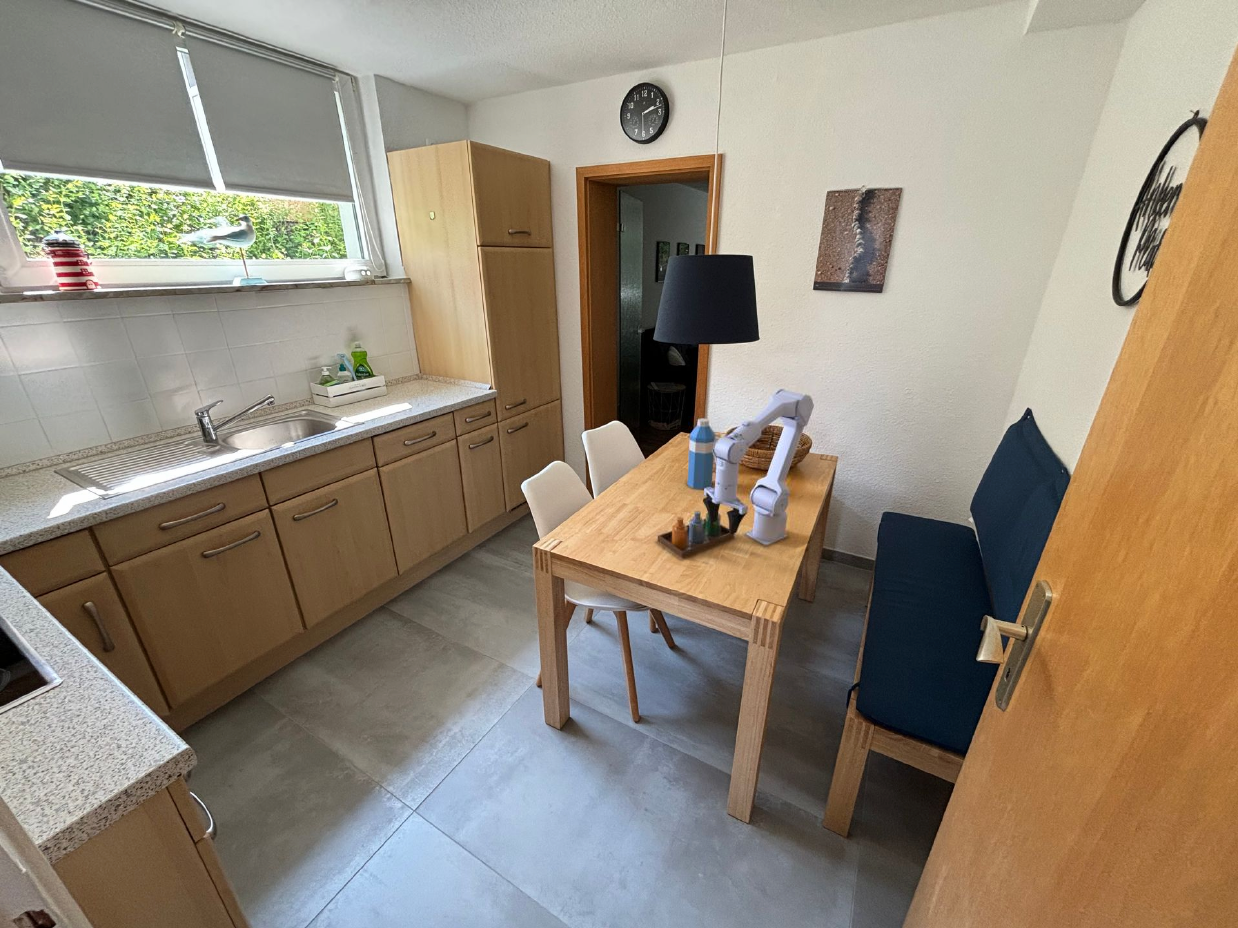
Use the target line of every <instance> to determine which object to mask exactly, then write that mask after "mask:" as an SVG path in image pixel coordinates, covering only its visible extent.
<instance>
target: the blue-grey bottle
mask: <svg viewBox="0 0 1238 928" xmlns="http://www.w3.org/2000/svg"><path fill="white" fill-rule="evenodd" d="M701 514H702V513H701V510H700V511H699V510H695V511H694V513H693V516H692V517H691V518H690V519H689V520H688V521H689V523H688V525H689V540H690V541H691V542H694V543H700V542H702V541H703V540H704V524H705V522H704V520H703V518H702V517H701Z"/></svg>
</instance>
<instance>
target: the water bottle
mask: <svg viewBox="0 0 1238 928" xmlns="http://www.w3.org/2000/svg"><path fill="white" fill-rule="evenodd" d="M714 432H715V431H714V430H713V429H712V427H711V426H710V419H709V418H703V417H702V418H698V419H697V425H696V426H695V427H694V428H693V430H692V431H691V432H690V434H689V446H688V467H687V486H688V487H690V488H691V489H694V490H695V489H696V490H704V488H707V487H711V488H712V485H713V475H714V474H713V473H714V471H713V461H714V455H713V452H712V448H714V444H715V433H714Z"/></svg>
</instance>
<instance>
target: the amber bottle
mask: <svg viewBox="0 0 1238 928" xmlns="http://www.w3.org/2000/svg"><path fill="white" fill-rule="evenodd" d="M686 525H687V524H685V523H684V517H682V516H678V517H677V518H676V522H675V523H674V524H673V525H672V527H671V531H672V544H673V545H674V546H676V547H677V548H679V549H680V550H682V549H685V548H686V547H687V529H688V528H687V526H686Z"/></svg>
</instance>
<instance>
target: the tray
mask: <svg viewBox="0 0 1238 928" xmlns="http://www.w3.org/2000/svg"><path fill="white" fill-rule="evenodd" d="M702 519H703V518H702ZM703 520H704V522H706V518H704V519H703ZM685 525H686V526H687V528H688V529H687V547H686V548H685V549H682V550H680V549H679V548H677V547H676V546H674V545H673V544H672V530H670V531H667V532H664V533H661V534H659V535H657V542H658V543H659V544H660V545H662V546H663V547H664V548H666V549H668V550H670V551H671V552H673V553H674V554H675V555H677V556H678V557H679V558H681V559H684V558H686V557H689V556H692V555H694V554H696V553H700V552H702V551H704V550H706V549H709V548H711V547H714V546H716V545H719V544H722V543H724V542H726V541H730V540H732V539H733V538H735V533H734V534H729V527H726V526H724V525H723V524H721V523H720V534H719V535H718V536H715V537H712V536H708V535H706V534H705V524H704V540H703V541H702V542H700V543H694V542H691V541H690V540H689V524H685Z"/></svg>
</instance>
